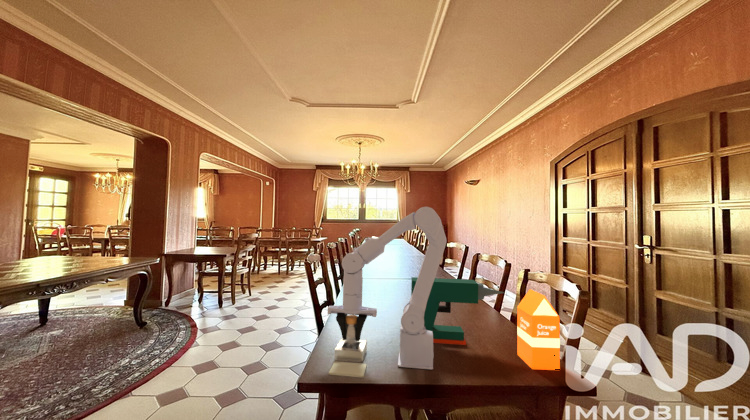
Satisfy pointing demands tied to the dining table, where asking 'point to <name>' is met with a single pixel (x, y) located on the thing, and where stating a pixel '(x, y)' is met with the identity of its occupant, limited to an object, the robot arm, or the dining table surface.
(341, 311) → the robot arm
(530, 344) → the orange juice
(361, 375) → the key mat
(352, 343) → the orange capped bottle
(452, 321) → the dining table surface
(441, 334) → the power tool
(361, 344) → the block
